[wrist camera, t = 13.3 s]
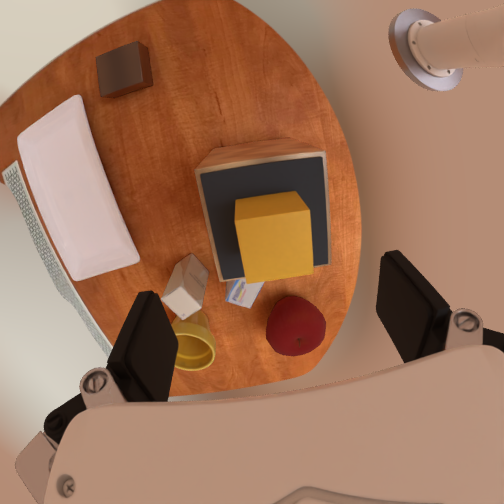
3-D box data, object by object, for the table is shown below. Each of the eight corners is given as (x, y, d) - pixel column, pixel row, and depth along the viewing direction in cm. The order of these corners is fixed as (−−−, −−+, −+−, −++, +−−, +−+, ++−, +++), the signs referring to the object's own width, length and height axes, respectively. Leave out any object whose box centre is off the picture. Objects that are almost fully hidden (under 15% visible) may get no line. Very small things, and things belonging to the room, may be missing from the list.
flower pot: (227, 326, 57) (226, 361, 48) (189, 343, 59) (183, 376, 50) (198, 291, 52) (191, 325, 44) (158, 312, 54) (147, 345, 46)
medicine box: (248, 281, 52) (250, 310, 44) (226, 273, 51) (224, 302, 43) (266, 245, 49) (272, 270, 41) (243, 236, 48) (243, 260, 40)
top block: (295, 190, 25) (310, 209, 20) (300, 244, 27) (313, 274, 22) (235, 199, 25) (234, 220, 20) (245, 253, 27) (246, 284, 22)
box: (209, 271, 51) (203, 309, 41) (192, 283, 52) (183, 322, 42) (191, 251, 49) (179, 286, 39) (173, 263, 50) (159, 300, 40)
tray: (89, 92, 34) (79, 91, 31) (147, 254, 48) (141, 263, 45) (25, 135, 36) (14, 137, 33) (81, 274, 50) (73, 283, 47)
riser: (289, 137, 40) (325, 150, 23) (298, 208, 46) (331, 264, 29) (213, 148, 41) (194, 169, 24) (226, 219, 46) (219, 282, 29)
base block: (147, 47, 32) (137, 40, 28) (153, 85, 35) (143, 81, 31) (109, 61, 32) (95, 57, 28) (114, 98, 36) (100, 97, 31)
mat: (321, 156, 24) (322, 157, 23) (327, 261, 29) (328, 264, 28) (200, 173, 24) (199, 174, 24) (223, 277, 29) (223, 280, 29)
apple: (264, 328, 57) (269, 371, 47) (261, 287, 53) (266, 329, 42) (315, 322, 57) (328, 362, 47) (318, 281, 53) (334, 320, 42)
